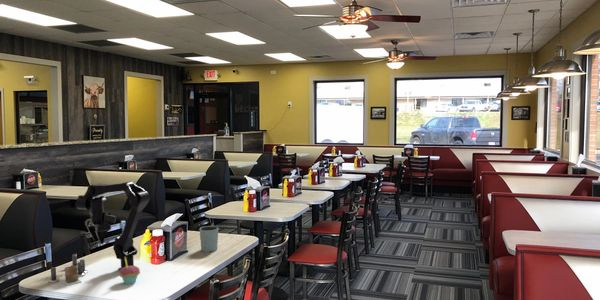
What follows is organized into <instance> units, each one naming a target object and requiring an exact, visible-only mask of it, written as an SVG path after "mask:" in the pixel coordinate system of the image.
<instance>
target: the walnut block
mask: <svg viewBox="0 0 600 300" xmlns="http://www.w3.org/2000/svg"><path fill="white" fill-rule="evenodd" d="M64 273H65V274H64V275H65V276H64V277H65V281H66V282H67V283H72V282H76V281H78V279H79V277H78V268H77V267H76V266H71V265H70V266H66V267H64Z"/></svg>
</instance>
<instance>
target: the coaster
mask: <svg viewBox="0 0 600 300" xmlns="http://www.w3.org/2000/svg"><path fill="white" fill-rule="evenodd" d="M62 283H63V284H64V285H65V286H72V285H76V284H79V283H82V281H81V279H79V278H78V281H76V282H72V283H67V282H66V280H63V281H62Z"/></svg>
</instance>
